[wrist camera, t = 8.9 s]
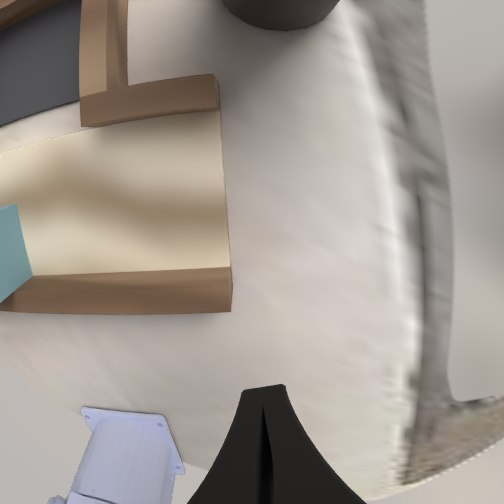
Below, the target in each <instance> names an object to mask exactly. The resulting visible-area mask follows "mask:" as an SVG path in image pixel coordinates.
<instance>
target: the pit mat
mask: <svg viewBox="0 0 504 504" xmlns="http://www.w3.org/2000/svg"><path fill="white" fill-rule="evenodd" d="M81 8H82V0H65V1H63V2H60V3H58V4H55V5H53V6H50V7H48V8H46V9H43V10H41V11H39V12H37V13H34V14H32V15H30V16H28V17H26V18H24V19H22V20H20V21H18V22H16V23H14V24H12V25H10V26H8V27H6V28H5V29H3V30H1V31H0V126H1V125H4V124H7V123H9V122H12V121H15V120H17V119H20V118H23V117H26V116H29V115H32V114H35V113H38V112H41V111H44V110H47V109H50V108H53V107H57V106H60V105H64V104H67V103H71V102H74V101H78V100H80V92H79V45H80V23H81Z"/></svg>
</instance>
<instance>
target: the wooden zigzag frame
mask: <svg viewBox="0 0 504 504" xmlns="http://www.w3.org/2000/svg"><path fill="white" fill-rule="evenodd" d="M63 1H65V0H0V31H1V30H3V29H5V28H6V27H8V26H10V25H12V24H14V23H16V22H18V21H20V20H22V19H24V18H26V17H28V16H30V15H32V14H34V13H37V12H39V11H41V10H43V9H46V8H48V7H50V6H53V5H55V4H58V3H60V2H63ZM127 12H128V0H82V8H81V23H80V45H79V92H80V115H81V127H98V128H93V129H88V130H84V131H79V132H75V133H71V134H67V135H63V136H59V137H55V138H51V139H47V140H44V141H40V142H36V143H33V144H30V145H26V146H23V147H20V148H16V149H13V150H10V151H7V152H4V153H1V154H0V207H2V206H7V205H12V204H17V209H18V214H19V219H20V224H21V229H22V234H23V238H24V242H25V247H26V251H27V255H28V259H29V263H30V266H31V270H32V273H33V276H32V277H31V278H29V279H28V280H27V281H26V282H24V283H23V284H22V285H21V286H20V287H18V288H17V289H16V290H15V291H14V292H12V293H11V294H10V295H9V296H8V297H7V298H5V299H4V300H3V301H2V302H1V303H0V311H9V312H29V313H54V314H105V315H138V314H191V313H219V312H231V302H232V289H233V283H232V272H231V260H230V247H229V235H228V222H227V209H226V195H225V181H224V167H223V152H222V137H221V121H220V104H219V86H218V82H217V81H216V79H215V77H214V75H213V74H205V75H196V76H188V77H180V78H172V79H166V80H159V81H153V82H147V83H141V84H136V85H131V86H128V78H127Z"/></svg>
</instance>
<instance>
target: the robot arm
mask: <svg viewBox="0 0 504 504" xmlns="http://www.w3.org/2000/svg"><path fill="white" fill-rule="evenodd" d="M80 412H81V414H82V416H83V417H84V419H85V421H86V423H87V425H88V426H89V428H90V430H91V432H92V436H91V438H90V440H89V443H88V446H87V448H86V450H85V453H84V455H83V458H82V461H81V463H80V465H79V468H78V471H77V473H76V476H75V479H74V482H73V484H72V487H71V489H70V492H69V495H68V496H67V497H66V499H64V498H63V497H61V496H59V495H58V496H56V497H51V498H49V501H48V503H47V504H171V499H172V493H173V486H174V480H175V474H180V475H183V474H185V468H184V466H183V463H182V461H181V458H180V456H179V453H178V451H177V448H176V446H175V443H174V440H173V438H172V435H171V433H170V430H169V427H168V424H167V422H166V419H165V417H164V416H162V415H158V414H143V413H131V412H120V411H111V410H103V409H95V408H88V407H82V408H81V411H80ZM187 504H366V503H365V502H364V501H363V500H362V499H361V498H360V497H359V496H358V495H357V494H356V493H355V492H354V491H353V490H351V489H350V488H349V487H348V486H347V485H346V484H345V482H344V481H343V480H342V479H341V478H340V477H339V476H338V475H337V474H336V473H335V471H334V470H333V469H332V468H331V467H330V465H329V464H328V463H327V462H326V460H325V459H324V458H323V457H322V455H321V454H320V453H319V451H318V450H317V448H316V447H315V445H314V444H313V443H312V441H311V440H310V438H309V436H308V435H307V433H306V432H305V430H304V428H303V426H302V425H301V423H300V421H299V419H298V418H297V416H296V414H295V412H294V409H293V407H292V405H291V403H290V400H289V398H288V394H287V391H286V386H285V385H283V384H278V385H272V386H266V387H260V388H253V389H246V390H244V391H243V392H242V393H241V398H240V401H239V405H238V408H237V411H236V414H235V417H234V420H233V422H232V425H231V427H230V430H229V432H228V434H227V437H226V439H225V441H224V444H223V446H222V448H221V450H220V452H219V454H218V456H217V458H216V460H215V461H214V463H213V465H212V467H211V469H210V470H209V472H208V474H207V475H206V477H205V479H204V480H203V482H202V483H201V485H200V486H199V488H198V489H197V491H196V492H195V493H194V495H193V496H192V497H191V499H190V500H189V502H188V503H187Z"/></svg>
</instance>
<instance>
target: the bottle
mask: <svg viewBox="0 0 504 504" xmlns="http://www.w3.org/2000/svg"><path fill="white" fill-rule="evenodd" d="M221 1H222V2H223V4H224V5H225V6H226V7H227V8H228V9H229V11H230V12H231V13H232V14H234V15H235V16H237V17H239V18H240V19H242V20H243V21H245V22H246V23H248V24H251V25H255V26H258V27H261V28H264V29H268V30H282V31H288V30H294V29H300V28H306V27H308V26H310V25H312V24H314V23H316V22H318V21H321V20H322V19H323V18H324V17H325V16H326V15H327V14H328V13H329V12H330V11H331V10H332V9H333V8H334V7H335V6H336V4H337V3H338V2H339V0H221Z"/></svg>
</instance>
